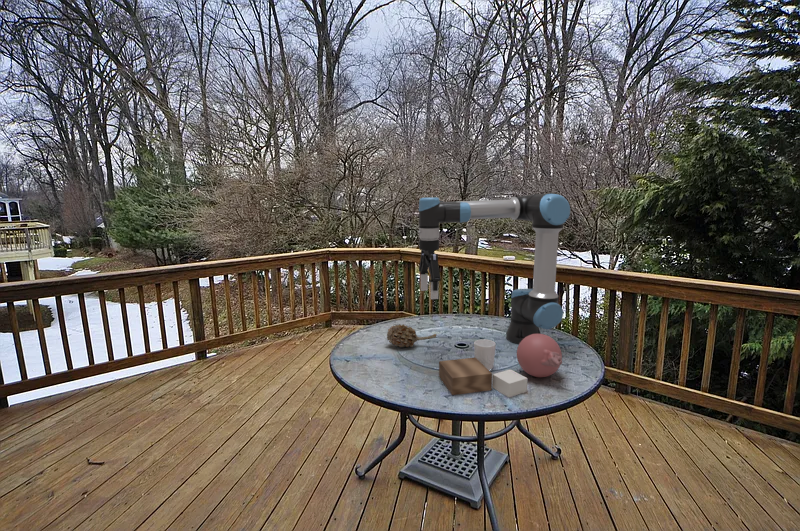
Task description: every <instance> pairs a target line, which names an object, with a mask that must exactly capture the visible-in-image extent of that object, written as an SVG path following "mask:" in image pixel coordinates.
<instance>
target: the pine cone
mask: <svg viewBox="0 0 800 531" xmlns="http://www.w3.org/2000/svg"><path fill="white" fill-rule="evenodd" d="M436 338H437V333H434V334H432V335H427V336H420V337H419V336H418V335H417V332H416V329H415V328H412V327H411V326H409V327H408V326H407V325H405V324H395V325H392V326H391V327H389V328H388V330H387V333H386V339H387V341H389V343H390V344H392V345H394V346H395V347H399V348H405V347H406V348H409V347H410V348H412V347H413V346H414V345H415V344H416V342H419V341H425V340H431V339H436Z"/></svg>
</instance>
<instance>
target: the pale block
mask: <svg viewBox="0 0 800 531" xmlns="http://www.w3.org/2000/svg"><path fill="white" fill-rule="evenodd" d="M492 389H495V390H496V391H498V392H499V393H500V394H502V395H504V396H505V397H507V398H512V397H515V396H517V395H521V394H523V393H526V392H527V393H528V377H526V376H524V375H522V374H520V373H519V372H516V371H514V370H512V369H506V370H502V371H499V372H496V373H492Z"/></svg>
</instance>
